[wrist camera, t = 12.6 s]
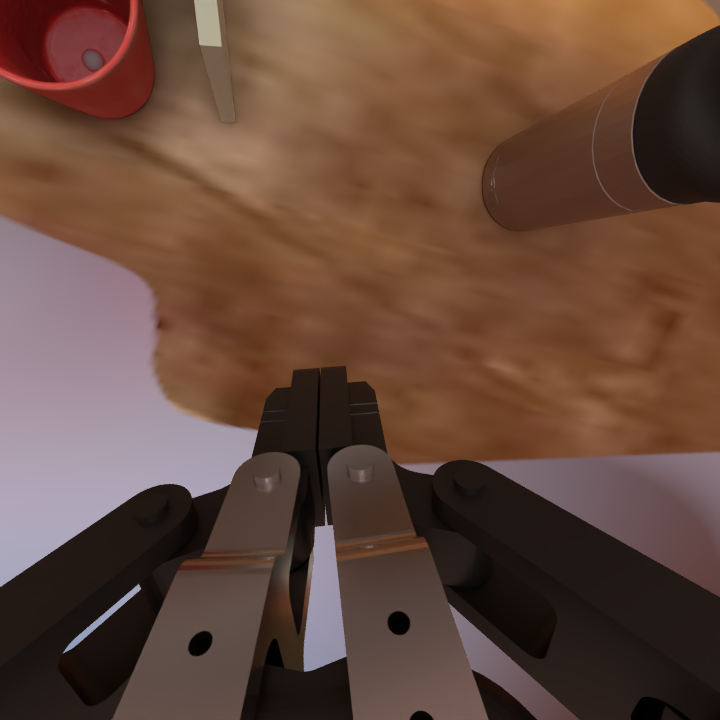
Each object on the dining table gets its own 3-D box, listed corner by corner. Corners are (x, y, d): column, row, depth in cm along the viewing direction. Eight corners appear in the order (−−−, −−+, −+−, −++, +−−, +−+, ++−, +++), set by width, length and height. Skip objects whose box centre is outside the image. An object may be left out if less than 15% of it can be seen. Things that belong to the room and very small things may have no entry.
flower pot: (-5, 86, 30) (-125, 3, 21) (55, -53, 29) (-43, -206, 20) (138, 168, 33) (90, 127, 24) (196, 44, 32) (169, -48, 23)
